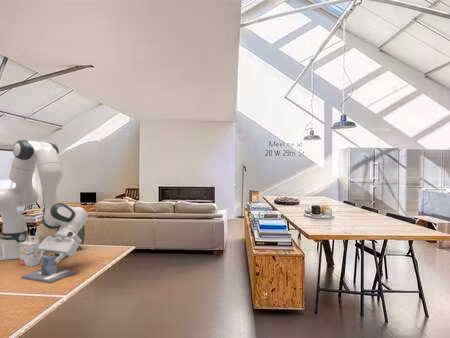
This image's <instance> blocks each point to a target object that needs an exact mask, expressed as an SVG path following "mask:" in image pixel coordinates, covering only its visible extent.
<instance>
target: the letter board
mask: <svg viewBox="0 0 450 338" xmlns="http://www.w3.org/2000/svg"><path fill="white" fill-rule="evenodd" d="M76 272H77V271H76V270H70V269H63V268H57V273H54V274H52V275H49V276H48V275H41V269H38V270H35V271H32V272H29V273H25V274H24V275H20V279H23V280H30V281H35V282H40V283H47V284H53V283H56V282H58V281H60V280H62V279H66V278H67V277H70V276H73V275H75V274H76Z"/></svg>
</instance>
